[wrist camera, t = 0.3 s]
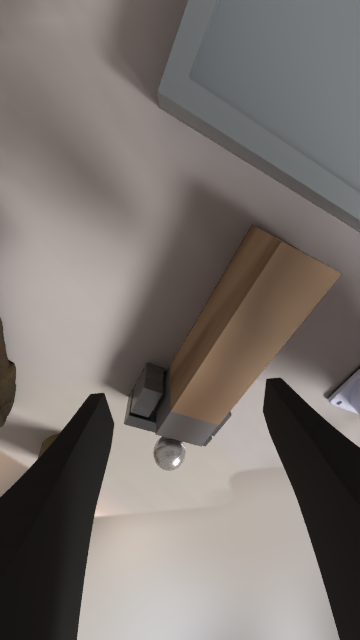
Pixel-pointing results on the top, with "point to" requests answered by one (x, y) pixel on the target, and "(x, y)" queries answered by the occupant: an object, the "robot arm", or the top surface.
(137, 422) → the stud bracket
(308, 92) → the tray
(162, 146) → the top surface
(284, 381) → the robot arm
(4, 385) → the hand tool
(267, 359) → the strut
